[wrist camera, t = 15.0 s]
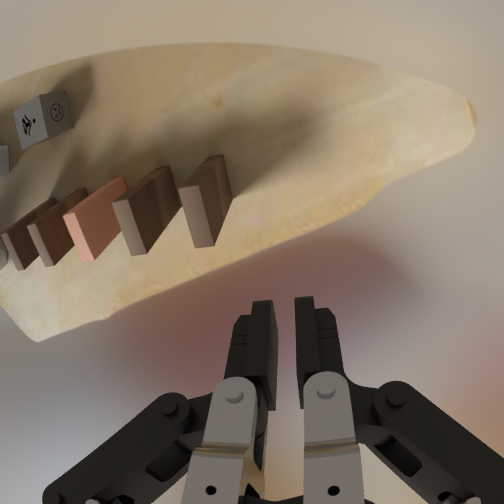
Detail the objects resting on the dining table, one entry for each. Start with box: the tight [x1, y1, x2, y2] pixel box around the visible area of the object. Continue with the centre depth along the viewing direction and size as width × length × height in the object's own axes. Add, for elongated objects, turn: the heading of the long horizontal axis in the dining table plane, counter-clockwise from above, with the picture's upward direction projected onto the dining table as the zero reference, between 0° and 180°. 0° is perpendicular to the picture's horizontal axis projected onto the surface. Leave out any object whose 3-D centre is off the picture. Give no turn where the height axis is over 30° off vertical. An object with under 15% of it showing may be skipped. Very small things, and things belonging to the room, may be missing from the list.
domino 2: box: [27, 188, 88, 267], centre depth 29 cm, size 2×5×10 cm, turn 10°
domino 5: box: [178, 155, 233, 248], centre depth 26 cm, size 2×5×10 cm, turn 10°
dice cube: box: [13, 91, 74, 150], centre depth 25 cm, size 5×5×5 cm
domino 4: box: [112, 166, 181, 256], centre depth 27 cm, size 2×5×10 cm, turn 10°
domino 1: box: [1, 198, 57, 271], centre depth 30 cm, size 2×5×10 cm, turn 10°
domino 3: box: [63, 177, 127, 262], centre depth 28 cm, size 2×5×10 cm, turn 10°
